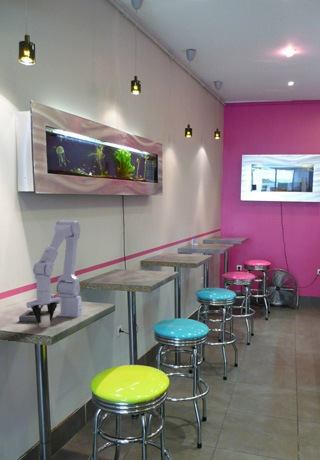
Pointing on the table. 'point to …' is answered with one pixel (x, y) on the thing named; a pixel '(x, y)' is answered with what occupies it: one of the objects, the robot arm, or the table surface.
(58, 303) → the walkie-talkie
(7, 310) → the table surface
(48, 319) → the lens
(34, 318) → the grey square frame
